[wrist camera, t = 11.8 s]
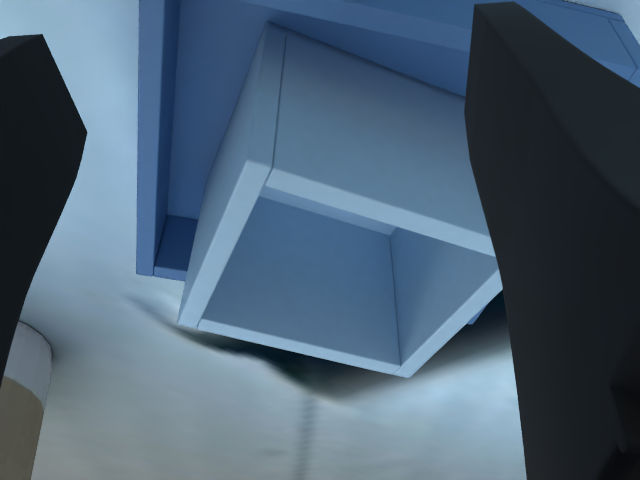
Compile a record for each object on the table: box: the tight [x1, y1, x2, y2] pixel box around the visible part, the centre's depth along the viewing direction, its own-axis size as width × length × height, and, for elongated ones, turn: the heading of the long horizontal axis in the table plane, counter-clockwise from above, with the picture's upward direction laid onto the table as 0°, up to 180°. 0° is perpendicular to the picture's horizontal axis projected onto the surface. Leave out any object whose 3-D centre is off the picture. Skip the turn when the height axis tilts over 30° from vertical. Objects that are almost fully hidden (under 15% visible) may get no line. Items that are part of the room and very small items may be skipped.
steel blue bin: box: [136, 0, 640, 324], centre depth 23 cm, size 15×13×4 cm
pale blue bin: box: [177, 21, 503, 378], centre depth 22 cm, size 9×8×7 cm
